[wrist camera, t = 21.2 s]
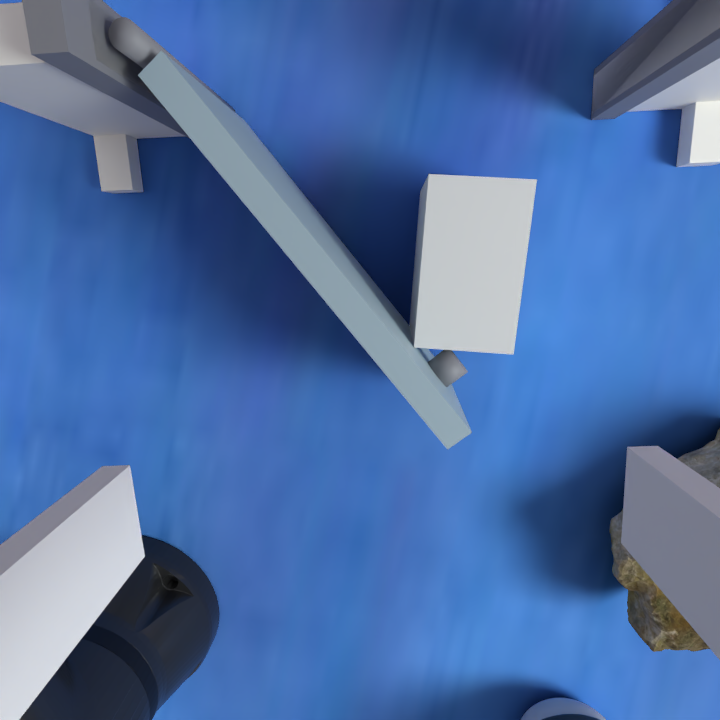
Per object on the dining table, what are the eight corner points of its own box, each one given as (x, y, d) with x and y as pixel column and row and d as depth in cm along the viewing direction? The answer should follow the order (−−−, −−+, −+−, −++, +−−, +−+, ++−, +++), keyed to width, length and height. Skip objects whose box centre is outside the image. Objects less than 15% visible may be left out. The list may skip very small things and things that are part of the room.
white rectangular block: (409, 324, 39) (414, 347, 30) (420, 191, 36) (428, 174, 27) (486, 329, 38) (513, 354, 29) (502, 195, 36) (536, 179, 27)
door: (212, 115, 36) (100, 34, 22) (243, 83, 35) (149, -19, 21) (429, 382, 39) (449, 454, 26) (462, 358, 39) (499, 419, 25)
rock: (825, 449, 38) (732, 370, 37) (959, 532, 28) (836, 427, 28) (633, 590, 44) (550, 524, 44) (688, 698, 34) (583, 616, 34)
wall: (113, 193, 38) (-105, 152, 21) (92, 48, 35) (-170, -124, 19) (711, 165, 34) (1004, 91, 18) (730, 4, 32) (1086, -251, 16)
